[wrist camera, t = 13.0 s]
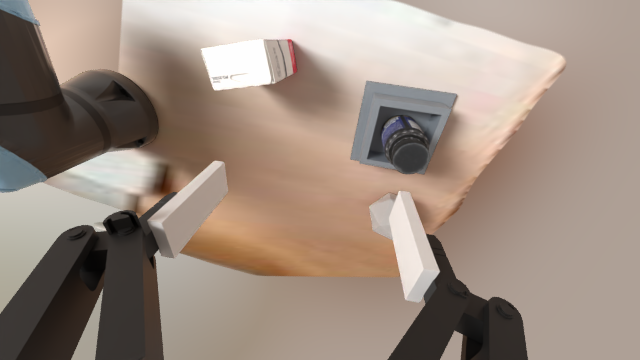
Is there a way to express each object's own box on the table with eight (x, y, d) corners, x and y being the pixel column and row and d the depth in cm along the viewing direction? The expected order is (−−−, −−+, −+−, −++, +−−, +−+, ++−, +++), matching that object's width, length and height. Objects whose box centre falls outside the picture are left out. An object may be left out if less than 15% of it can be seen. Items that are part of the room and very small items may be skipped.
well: (350, 158, 44) (349, 169, 40) (366, 80, 36) (367, 85, 32) (423, 170, 43) (429, 183, 39) (455, 93, 35) (467, 100, 31)
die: (360, 197, 49) (365, 245, 45) (383, 182, 41) (392, 238, 37) (393, 200, 52) (400, 245, 48) (421, 186, 44) (432, 239, 40)
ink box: (292, 37, 35) (264, 36, 25) (297, 73, 37) (275, 85, 27) (241, 46, 36) (197, 48, 26) (250, 79, 39) (212, 92, 29)
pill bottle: (380, 149, 41) (386, 180, 32) (379, 115, 38) (385, 139, 29) (416, 145, 40) (433, 177, 31) (418, 111, 37) (438, 134, 28)
